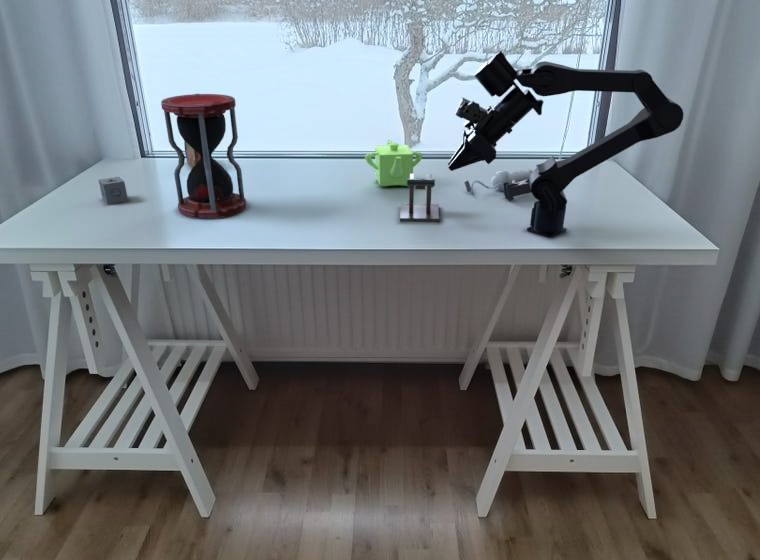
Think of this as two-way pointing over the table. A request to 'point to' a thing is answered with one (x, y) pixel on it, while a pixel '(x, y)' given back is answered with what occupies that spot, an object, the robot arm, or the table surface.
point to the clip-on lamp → (508, 183)
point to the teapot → (393, 163)
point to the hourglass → (205, 154)
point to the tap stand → (419, 207)
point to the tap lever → (420, 183)
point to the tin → (191, 155)
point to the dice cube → (113, 190)
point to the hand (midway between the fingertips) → (449, 167)
